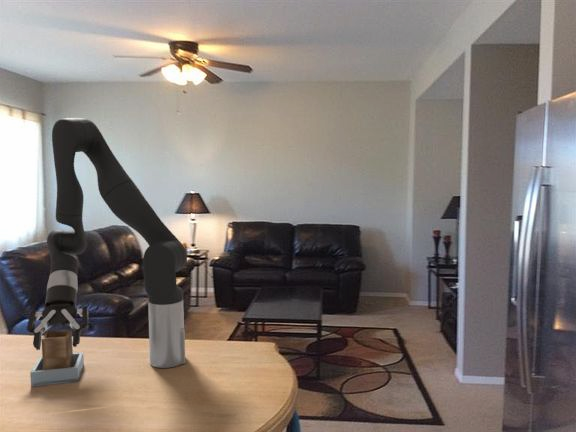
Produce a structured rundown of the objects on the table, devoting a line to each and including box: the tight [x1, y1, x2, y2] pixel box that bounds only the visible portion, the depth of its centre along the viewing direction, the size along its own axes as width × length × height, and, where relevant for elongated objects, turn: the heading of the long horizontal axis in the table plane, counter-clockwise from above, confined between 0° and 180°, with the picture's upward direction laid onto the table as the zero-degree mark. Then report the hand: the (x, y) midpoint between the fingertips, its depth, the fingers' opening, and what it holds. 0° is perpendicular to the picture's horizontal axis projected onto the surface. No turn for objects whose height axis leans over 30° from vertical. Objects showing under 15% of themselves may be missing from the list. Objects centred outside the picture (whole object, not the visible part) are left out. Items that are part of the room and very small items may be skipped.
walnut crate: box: [41, 328, 74, 370], centre depth 125 cm, size 6×6×10 cm
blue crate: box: [29, 351, 85, 388], centre depth 125 cm, size 11×11×4 cm
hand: (56, 347), depth 123 cm, fingers open, 8 cm apart
